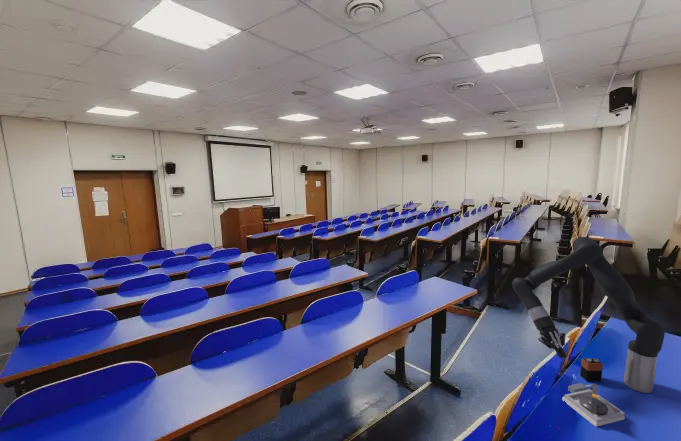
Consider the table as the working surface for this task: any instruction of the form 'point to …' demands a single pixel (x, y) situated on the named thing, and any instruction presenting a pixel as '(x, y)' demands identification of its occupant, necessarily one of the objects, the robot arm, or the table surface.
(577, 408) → the panel
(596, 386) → the dial
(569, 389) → the screwdriver
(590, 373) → the battery
